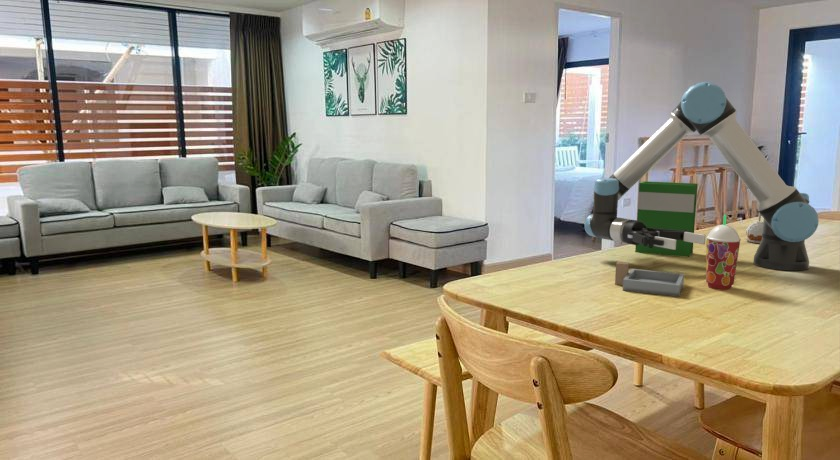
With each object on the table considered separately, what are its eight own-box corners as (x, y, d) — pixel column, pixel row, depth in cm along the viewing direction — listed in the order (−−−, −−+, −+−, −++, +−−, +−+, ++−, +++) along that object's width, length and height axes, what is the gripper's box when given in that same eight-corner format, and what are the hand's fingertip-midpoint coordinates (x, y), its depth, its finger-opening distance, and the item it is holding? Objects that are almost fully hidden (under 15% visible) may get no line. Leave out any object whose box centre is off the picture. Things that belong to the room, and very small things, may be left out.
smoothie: (734, 285, 177) (740, 213, 174) (738, 292, 169) (744, 217, 166) (701, 282, 180) (706, 212, 176) (704, 289, 172) (709, 216, 169)
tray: (683, 284, 178) (685, 263, 177) (678, 296, 165) (680, 274, 164) (620, 277, 185) (621, 257, 184) (611, 289, 173) (612, 267, 172)
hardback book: (692, 253, 220) (697, 183, 216) (690, 257, 213) (695, 185, 209) (639, 248, 228) (643, 181, 224) (635, 252, 222) (639, 183, 218)
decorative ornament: (765, 240, 242) (769, 201, 240) (771, 244, 235) (775, 204, 232) (743, 240, 244) (746, 201, 242) (748, 243, 237) (752, 203, 234)
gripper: (654, 239, 206) (715, 250, 188) (600, 247, 192) (661, 260, 175) (655, 216, 204) (717, 225, 187) (601, 223, 191) (663, 233, 173)
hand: (690, 242), depth 181 cm, fingers open, 13 cm apart
